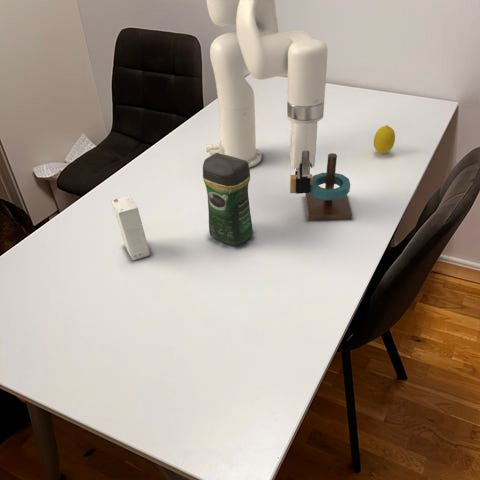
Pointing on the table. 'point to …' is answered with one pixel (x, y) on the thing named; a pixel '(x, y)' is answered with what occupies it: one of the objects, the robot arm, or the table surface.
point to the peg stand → (328, 208)
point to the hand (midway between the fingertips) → (302, 189)
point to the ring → (323, 192)
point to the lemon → (384, 139)
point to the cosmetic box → (131, 227)
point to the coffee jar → (228, 198)
